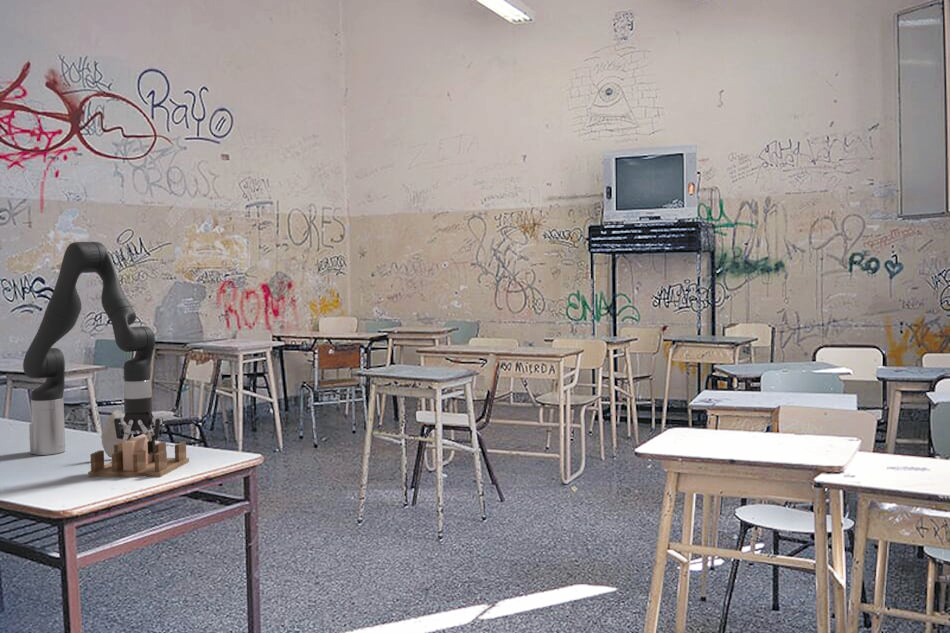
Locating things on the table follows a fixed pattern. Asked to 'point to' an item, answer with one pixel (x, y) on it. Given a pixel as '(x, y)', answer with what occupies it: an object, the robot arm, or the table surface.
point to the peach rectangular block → (135, 450)
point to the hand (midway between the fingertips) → (139, 453)
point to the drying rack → (138, 462)
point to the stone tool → (111, 433)
